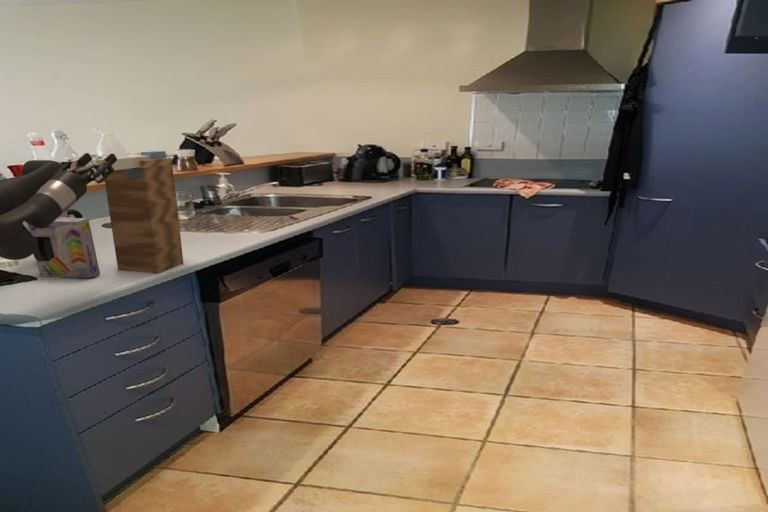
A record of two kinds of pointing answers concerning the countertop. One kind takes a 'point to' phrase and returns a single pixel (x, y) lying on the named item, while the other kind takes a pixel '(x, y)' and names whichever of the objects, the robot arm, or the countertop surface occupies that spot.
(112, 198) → the wood grain block
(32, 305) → the countertop surface
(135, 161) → the cream and blue bar
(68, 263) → the cake pan box
